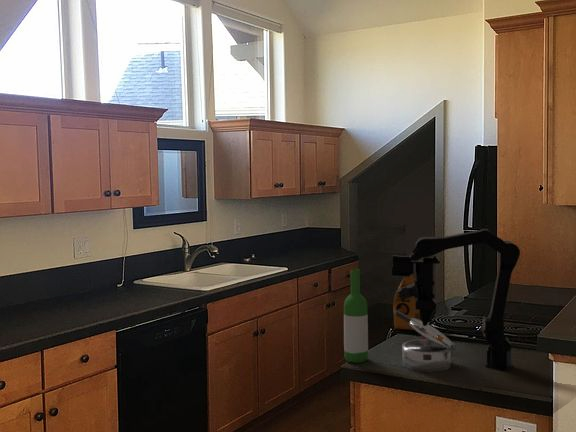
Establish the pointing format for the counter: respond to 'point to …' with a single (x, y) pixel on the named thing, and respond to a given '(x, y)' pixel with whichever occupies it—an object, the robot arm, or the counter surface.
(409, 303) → the coffee package
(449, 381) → the counter surface
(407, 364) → the cooker pot
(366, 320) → the wine bottle
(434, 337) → the lid
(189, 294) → the counter surface
